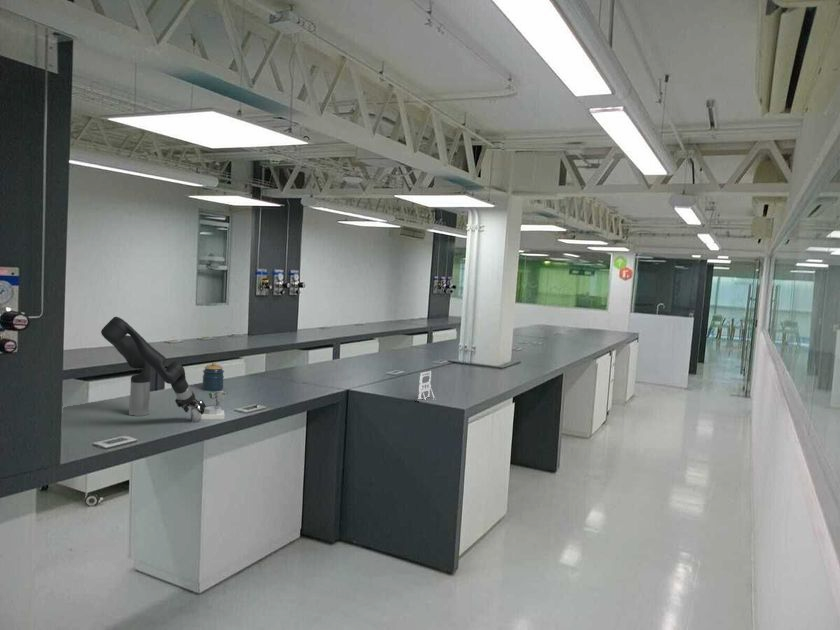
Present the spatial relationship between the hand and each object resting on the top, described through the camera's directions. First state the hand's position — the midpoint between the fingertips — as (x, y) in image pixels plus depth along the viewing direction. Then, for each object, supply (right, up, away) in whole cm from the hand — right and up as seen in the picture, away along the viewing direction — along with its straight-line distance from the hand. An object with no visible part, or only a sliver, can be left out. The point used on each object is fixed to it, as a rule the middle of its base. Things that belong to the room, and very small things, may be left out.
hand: (195, 411), depth 309 cm
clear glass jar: (0, -5, +1) cm, 5 cm away
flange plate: (+4, -4, +13) cm, 14 cm away
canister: (-19, +1, +83) cm, 85 cm away
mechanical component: (+2, -3, +29) cm, 29 cm away
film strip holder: (+117, -8, +88) cm, 146 cm away
